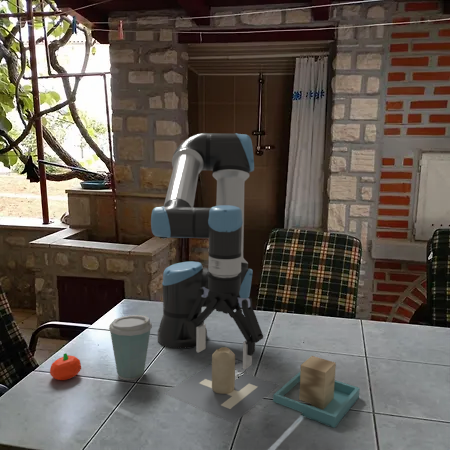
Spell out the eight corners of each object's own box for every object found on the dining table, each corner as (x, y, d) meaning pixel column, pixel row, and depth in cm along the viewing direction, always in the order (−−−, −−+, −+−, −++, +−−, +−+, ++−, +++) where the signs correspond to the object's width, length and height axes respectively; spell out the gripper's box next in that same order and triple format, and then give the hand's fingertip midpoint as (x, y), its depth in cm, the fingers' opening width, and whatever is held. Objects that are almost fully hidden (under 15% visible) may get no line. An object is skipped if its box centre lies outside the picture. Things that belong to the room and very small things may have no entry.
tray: (273, 404, 108) (273, 394, 107) (301, 378, 120) (302, 369, 119) (334, 428, 99) (335, 417, 99) (359, 397, 111) (359, 387, 111)
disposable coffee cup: (101, 380, 118) (99, 323, 115) (124, 361, 127) (123, 309, 125) (138, 388, 114) (137, 330, 111) (159, 368, 124) (159, 314, 121)
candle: (232, 395, 110) (232, 355, 108) (209, 392, 111) (209, 353, 109) (236, 384, 115) (237, 345, 113) (214, 381, 116) (215, 343, 114)
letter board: (163, 396, 110) (163, 393, 110) (214, 364, 126) (214, 361, 126) (233, 426, 99) (233, 423, 99) (279, 387, 115) (279, 384, 115)
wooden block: (299, 401, 109) (300, 365, 107) (310, 390, 113) (312, 355, 112) (323, 409, 105) (325, 372, 104) (333, 398, 110) (335, 362, 108)
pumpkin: (44, 384, 116) (40, 359, 116) (67, 370, 124) (63, 346, 123) (67, 386, 113) (63, 361, 113) (88, 372, 121) (85, 348, 120)
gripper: (172, 267, 112) (173, 349, 116) (262, 288, 97) (259, 381, 102) (192, 260, 118) (192, 338, 122) (280, 279, 104) (276, 367, 108)
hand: (223, 358), depth 112 cm, fingers open, 13 cm apart
